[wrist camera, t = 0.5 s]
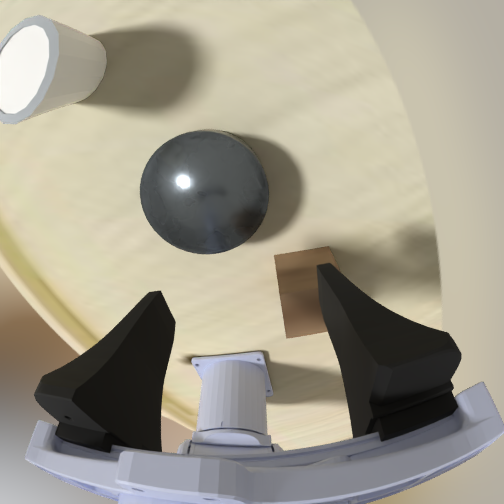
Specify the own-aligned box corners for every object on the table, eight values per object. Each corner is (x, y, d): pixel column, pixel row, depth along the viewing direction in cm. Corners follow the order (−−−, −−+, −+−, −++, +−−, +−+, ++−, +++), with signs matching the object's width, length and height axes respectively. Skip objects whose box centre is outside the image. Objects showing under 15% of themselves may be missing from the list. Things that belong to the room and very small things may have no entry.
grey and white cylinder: (103, 14, 12) (49, -7, 6) (125, 84, 15) (70, 82, 9) (38, 60, 13) (-20, 62, 7) (57, 126, 16) (-2, 145, 10)
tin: (274, 224, 21) (277, 243, 19) (171, 242, 22) (162, 262, 20) (254, 116, 17) (255, 118, 15) (141, 143, 18) (124, 151, 15)
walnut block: (329, 288, 24) (343, 328, 20) (280, 297, 25) (286, 338, 21) (328, 245, 22) (345, 282, 18) (274, 254, 23) (279, 294, 18)
